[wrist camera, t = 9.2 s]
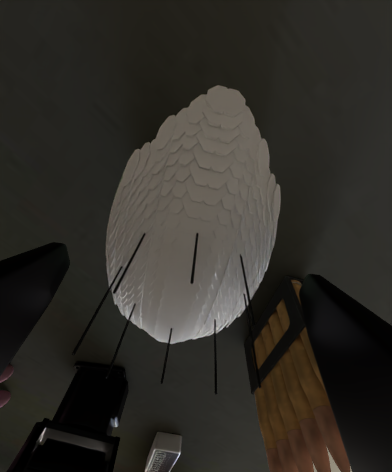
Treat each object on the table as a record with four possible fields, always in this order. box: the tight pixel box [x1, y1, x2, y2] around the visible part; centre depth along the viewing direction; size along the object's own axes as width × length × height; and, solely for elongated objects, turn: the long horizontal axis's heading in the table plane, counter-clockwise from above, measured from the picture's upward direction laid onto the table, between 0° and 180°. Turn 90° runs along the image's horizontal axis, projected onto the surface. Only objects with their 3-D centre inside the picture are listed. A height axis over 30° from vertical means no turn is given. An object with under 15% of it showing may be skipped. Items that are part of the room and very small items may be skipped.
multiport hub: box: [145, 432, 182, 472], centre depth 41 cm, size 4×14×2 cm, turn 166°
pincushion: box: [72, 85, 281, 394], centre depth 8 cm, size 12×6×6 cm, turn 167°
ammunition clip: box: [244, 276, 350, 472], centre depth 18 cm, size 11×2×12 cm, turn 166°
